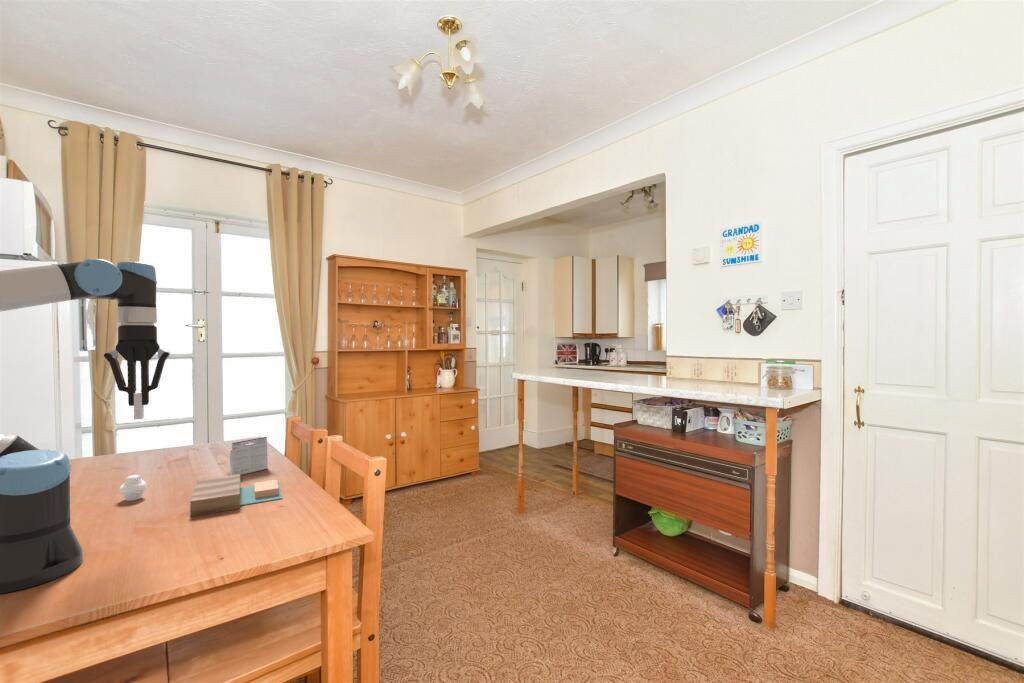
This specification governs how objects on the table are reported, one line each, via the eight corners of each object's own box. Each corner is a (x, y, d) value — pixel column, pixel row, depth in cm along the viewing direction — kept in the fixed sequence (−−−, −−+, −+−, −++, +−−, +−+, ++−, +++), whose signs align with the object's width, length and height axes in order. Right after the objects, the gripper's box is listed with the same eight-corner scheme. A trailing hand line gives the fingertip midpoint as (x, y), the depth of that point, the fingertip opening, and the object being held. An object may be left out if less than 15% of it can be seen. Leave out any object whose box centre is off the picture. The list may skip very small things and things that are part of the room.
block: (254, 491, 130) (255, 498, 130) (278, 488, 133) (278, 494, 133) (254, 482, 137) (254, 489, 138) (276, 479, 141) (276, 485, 141)
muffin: (123, 497, 132) (122, 473, 132) (149, 493, 135) (149, 470, 134) (116, 504, 126) (116, 479, 126) (144, 500, 129) (143, 476, 129)
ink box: (265, 468, 161) (265, 435, 161) (268, 469, 159) (267, 436, 159) (229, 475, 152) (228, 441, 152) (231, 477, 150) (231, 442, 150)
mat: (282, 498, 130) (282, 497, 130) (237, 506, 125) (237, 505, 125) (278, 483, 144) (278, 482, 144) (238, 489, 138) (238, 488, 138)
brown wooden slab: (239, 508, 123) (239, 493, 123) (190, 516, 118) (190, 501, 118) (240, 487, 140) (240, 474, 140) (197, 493, 135) (197, 480, 135)
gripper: (172, 325, 120) (173, 413, 120) (107, 324, 113) (108, 418, 114) (168, 324, 113) (169, 418, 114) (99, 324, 107) (100, 423, 107)
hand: (139, 418), depth 114 cm, fingers closed
